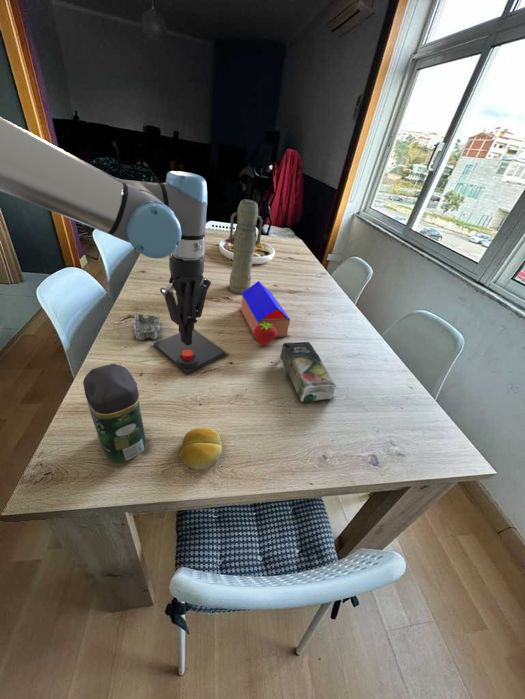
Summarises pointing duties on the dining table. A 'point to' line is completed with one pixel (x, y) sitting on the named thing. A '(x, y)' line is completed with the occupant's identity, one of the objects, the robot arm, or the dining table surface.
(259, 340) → the strawberry
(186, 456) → the bread roll
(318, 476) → the dining table surface
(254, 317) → the house
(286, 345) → the juice carton
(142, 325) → the egg carton
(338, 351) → the dining table surface
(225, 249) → the bowl
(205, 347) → the red button pad
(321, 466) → the dining table surface
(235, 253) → the thermos
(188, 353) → the power button
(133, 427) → the coffee jar
